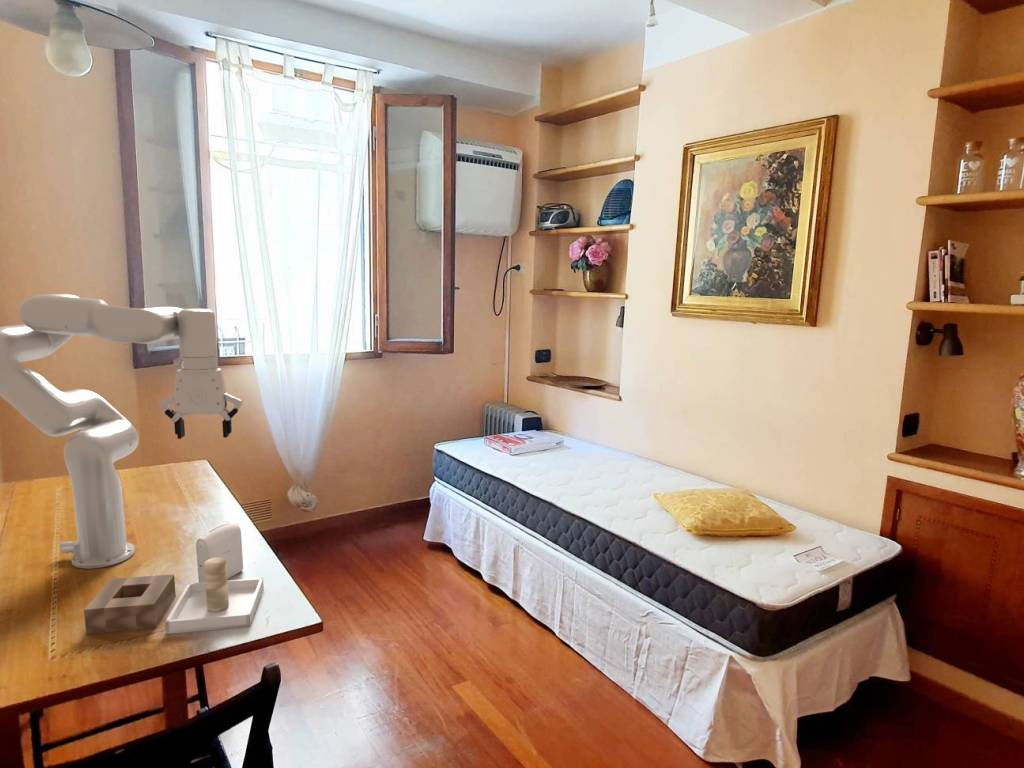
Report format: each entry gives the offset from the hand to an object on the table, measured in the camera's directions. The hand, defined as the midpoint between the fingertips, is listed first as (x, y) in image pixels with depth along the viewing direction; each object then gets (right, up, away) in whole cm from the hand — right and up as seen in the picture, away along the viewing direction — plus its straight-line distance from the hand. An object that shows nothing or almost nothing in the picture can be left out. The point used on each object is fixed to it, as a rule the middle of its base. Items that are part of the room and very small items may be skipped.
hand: (204, 436), depth 142 cm
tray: (+11, -34, -16) cm, 39 cm away
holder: (-5, -34, -19) cm, 39 cm away
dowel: (+11, -34, -16) cm, 39 cm away
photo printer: (+6, -32, -3) cm, 33 cm away
